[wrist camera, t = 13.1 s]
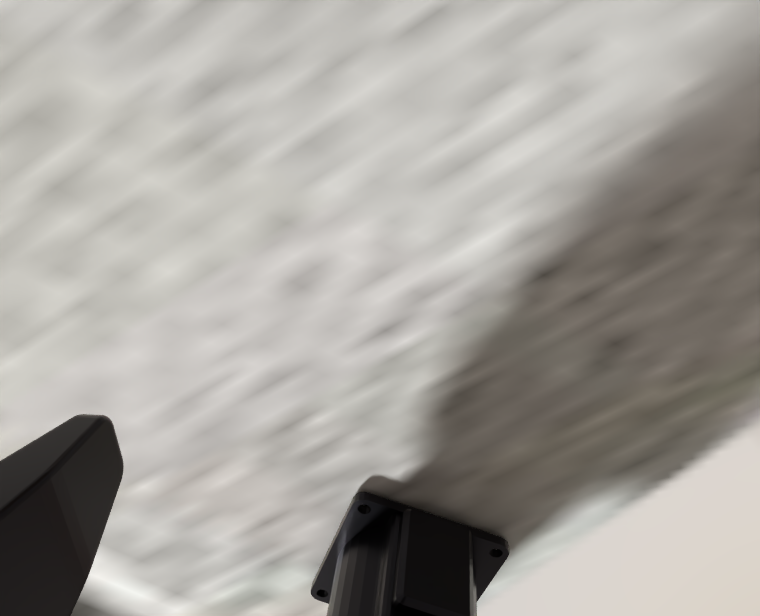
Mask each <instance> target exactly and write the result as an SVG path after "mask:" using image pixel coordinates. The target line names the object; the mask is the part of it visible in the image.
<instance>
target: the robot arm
mask: <svg viewBox="0 0 760 616" xmlns="http://www.w3.org/2000/svg"><path fill="white" fill-rule="evenodd" d="M122 475H123V459H122V455H121V451H120V448H119V444H118V440H117V437H116V433H115V430H114V426H113V423H112V421H111V420H110V418H108V417H107V416H104V415H87V414H82V415H76V416H75V417H73V418H71V419H69V420H68V421H66V422H64V423H63V424H61V425H59V426H58V427H56V428H54V429H53V430H51V431H49V432H48V433H46V434H44V435H43V436H41V437H39V438H38V439H36V440H34V441H33V442H31V443H29V444H28V445H26V446H24V447H23V448H21V449H19V450H18V451H16V452H14V453H13V454H11V455H9V456H8V457H6V458H5V459H3V460H1V461H0V616H70V615H71V613H72V611H73V609H74V607H75V604H76V602H77V600H78V598H79V596H80V594H81V591H82V589H83V587H84V584H85V582H86V580H87V577H88V575H89V572H90V569H91V567H92V564H93V561H94V558H95V555H96V552H97V549H98V547H99V544H100V541H101V538H102V535H103V532H104V529H105V526H106V523H107V520H108V517H109V515H110V512H111V509H112V506H113V503H114V500H115V497H116V494H117V491H118V488H119V485H120V482H121V479H122ZM362 504H364V505H368V506H363V505H362ZM496 549H497V550H496ZM508 555H509V546H508V542H507V541H506V540H505V539H504V538H502V537H499V536H496V535H493V534H490V533H487V532H484V531H481V530H478V529H475V528H472V527H469V526H467V525H464V524H461V523H458V522H455V521H452V520H449V519H446V518H443V517H440V516H437V515H434V514H431V513H428V512H425V511H422V510H419V509H416V508H413V507H410V506H407V505H404V504H401V503H398V502H395V501H392V500H389V499H386V498H383V497H380V496H377V495H374V494H371V493H367V492H361V493H358V494H356V495H355V496H354V497H353V499H352V501H351V503H350V506H349V508H348V510H347V512H346V514H345V516H344V518H343V520H342V522H341V524H340V526H339V528H338V531H337V533H336V535H335V537H334V539H333V541H332V543H331V545H330V547H329V549H328V551H327V553H326V556H325V558H324V560H323V562H322V564H321V566H320V568H319V570H318V572H317V574H316V576H315V578H314V581H313V583H312V588H311V595H312V596H313V597H314V598H315V599H317V600H319V601H322V602H326V603H329V607H328V612H327V616H477V601H478V599H479V598H480V596H481V595H482V594H483V592H484V591H485V589H486V588H487V586H488V585H489V583H490V582H491V581H492V579H493V578H494V576H495V575H496V573H497V572H498V570H499V569H500V568H501V566H502V565H503V563H504V562H505V560H506V559H507V557H508Z"/></svg>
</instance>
